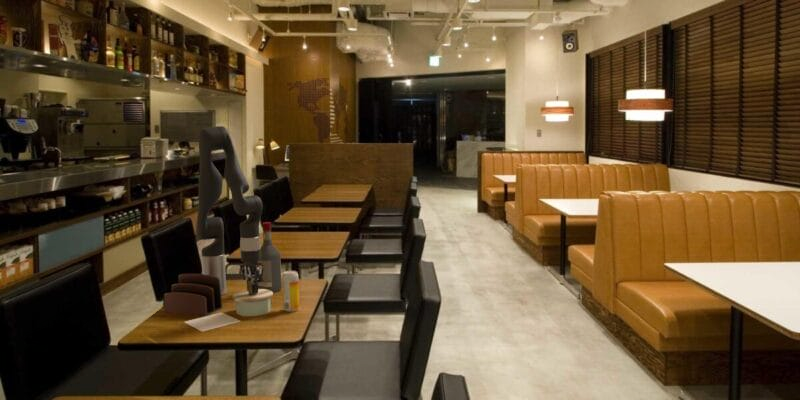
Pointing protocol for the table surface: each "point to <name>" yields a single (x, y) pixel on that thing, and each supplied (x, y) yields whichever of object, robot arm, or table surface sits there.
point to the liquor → (269, 262)
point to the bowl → (253, 308)
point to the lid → (252, 295)
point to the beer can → (291, 291)
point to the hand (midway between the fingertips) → (252, 292)
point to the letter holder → (194, 295)
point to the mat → (212, 321)
